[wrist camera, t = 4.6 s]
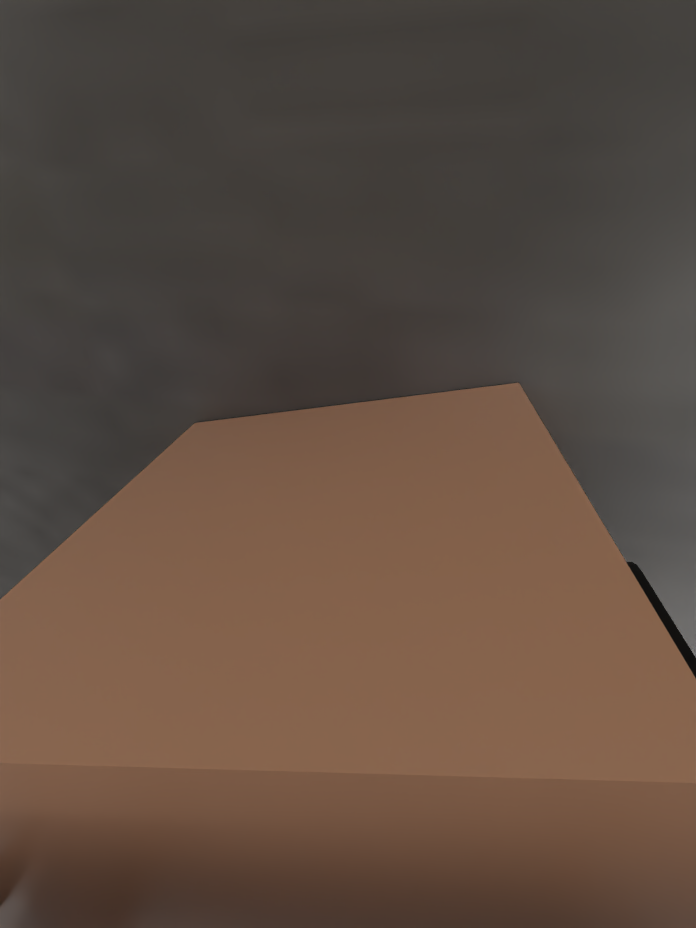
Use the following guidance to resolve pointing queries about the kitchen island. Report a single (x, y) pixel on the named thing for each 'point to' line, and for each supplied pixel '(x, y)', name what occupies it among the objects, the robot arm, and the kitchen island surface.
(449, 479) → the peach tan cube
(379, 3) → the kitchen island surface
